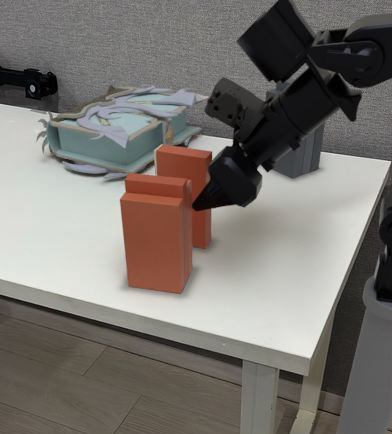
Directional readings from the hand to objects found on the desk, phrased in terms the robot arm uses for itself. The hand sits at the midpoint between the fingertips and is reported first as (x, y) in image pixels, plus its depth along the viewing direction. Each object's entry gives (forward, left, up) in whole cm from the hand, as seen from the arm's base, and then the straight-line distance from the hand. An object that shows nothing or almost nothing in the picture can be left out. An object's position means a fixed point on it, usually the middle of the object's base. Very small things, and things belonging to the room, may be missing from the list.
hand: (203, 192), depth 74 cm
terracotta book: (+3, -1, -8) cm, 8 cm away
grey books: (-9, -30, -8) cm, 33 cm away
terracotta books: (+3, +9, -8) cm, 13 cm away
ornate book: (+22, -31, -8) cm, 39 cm away
